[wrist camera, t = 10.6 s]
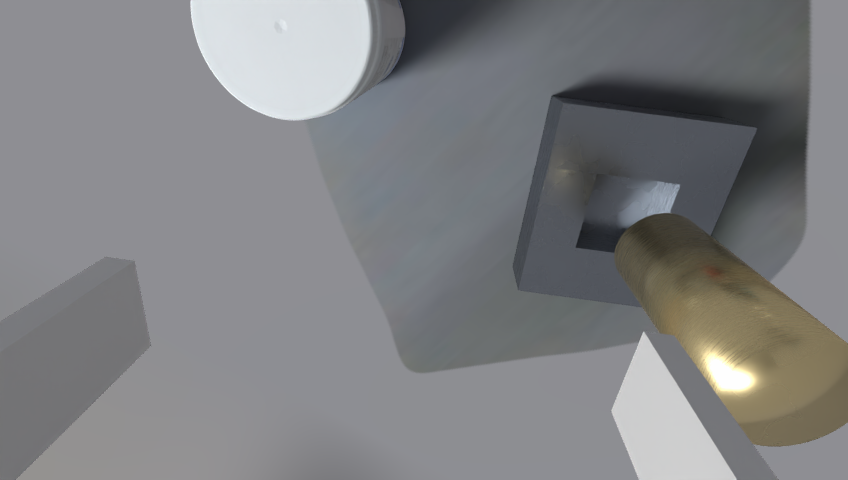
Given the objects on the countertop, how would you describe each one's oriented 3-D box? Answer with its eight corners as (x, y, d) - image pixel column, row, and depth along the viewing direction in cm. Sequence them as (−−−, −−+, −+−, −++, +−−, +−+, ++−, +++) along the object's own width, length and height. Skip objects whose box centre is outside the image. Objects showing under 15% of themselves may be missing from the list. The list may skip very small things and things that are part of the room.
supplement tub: (274, -28, 33) (150, -73, 20) (393, -55, 32) (347, -123, 19) (308, 102, 37) (225, 136, 24) (417, 82, 36) (392, 107, 23)
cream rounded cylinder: (629, 207, 28) (752, 329, 16) (716, 219, 28) (904, 350, 16) (604, 282, 30) (695, 435, 19) (684, 293, 30) (827, 454, 18)
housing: (551, 95, 36) (563, 103, 31) (723, 117, 35) (757, 127, 31) (512, 266, 42) (518, 290, 38) (656, 285, 42) (677, 312, 38)
